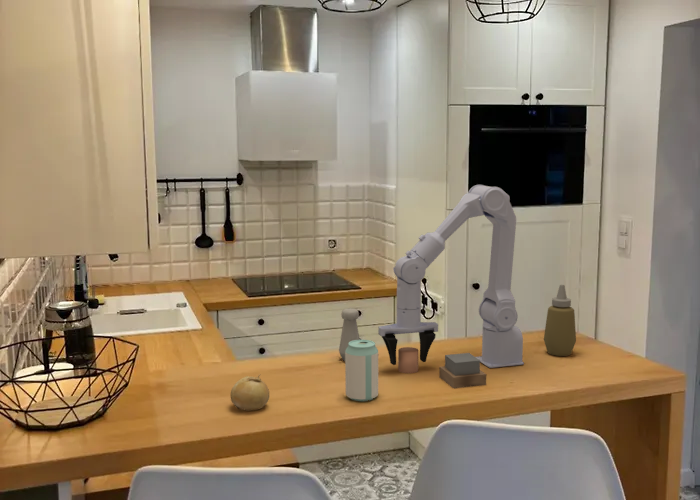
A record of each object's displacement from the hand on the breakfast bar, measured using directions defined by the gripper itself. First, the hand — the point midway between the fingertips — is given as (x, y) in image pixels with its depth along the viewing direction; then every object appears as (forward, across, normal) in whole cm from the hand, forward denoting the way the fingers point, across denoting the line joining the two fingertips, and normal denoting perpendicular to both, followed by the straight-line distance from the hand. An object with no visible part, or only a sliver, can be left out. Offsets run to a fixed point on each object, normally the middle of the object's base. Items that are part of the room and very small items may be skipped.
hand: (408, 362), depth 172 cm
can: (+2, +16, +14) cm, 21 cm away
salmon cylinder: (+2, 0, 0) cm, 2 cm away
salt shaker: (+2, +11, -12) cm, 16 cm away
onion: (+2, +40, +13) cm, 42 cm away
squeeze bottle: (+2, -42, -1) cm, 42 cm away
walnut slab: (+2, -9, +11) cm, 15 cm away
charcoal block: (-1, -9, +11) cm, 14 cm away
